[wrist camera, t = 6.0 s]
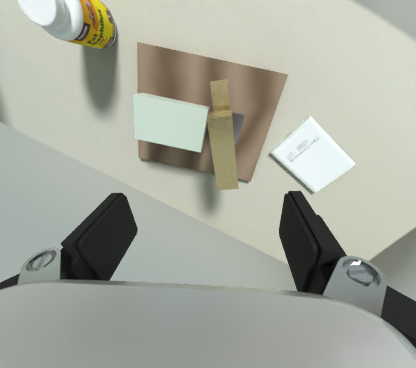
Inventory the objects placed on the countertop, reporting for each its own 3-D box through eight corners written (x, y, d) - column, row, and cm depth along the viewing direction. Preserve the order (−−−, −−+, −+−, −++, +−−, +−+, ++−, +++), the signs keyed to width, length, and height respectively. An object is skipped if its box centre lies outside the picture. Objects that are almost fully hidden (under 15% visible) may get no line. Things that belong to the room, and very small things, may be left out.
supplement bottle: (113, 57, 28) (60, 48, 19) (77, 36, 27) (5, 15, 18) (123, 15, 26) (67, -18, 17) (83, -11, 25) (2, -60, 16)
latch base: (140, 155, 36) (131, 164, 33) (140, 43, 27) (127, 38, 24) (249, 178, 36) (252, 189, 33) (286, 74, 27) (294, 74, 24)
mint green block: (142, 133, 30) (134, 138, 27) (142, 92, 27) (133, 94, 24) (203, 146, 30) (200, 152, 27) (210, 107, 27) (208, 110, 24)
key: (212, 81, 27) (201, 83, 16) (228, 78, 27) (229, 78, 16) (221, 151, 32) (217, 190, 21) (235, 150, 32) (238, 188, 21)
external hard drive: (311, 189, 37) (268, 150, 34) (351, 160, 33) (307, 114, 30) (314, 193, 35) (270, 153, 32) (356, 164, 32) (311, 116, 29)
